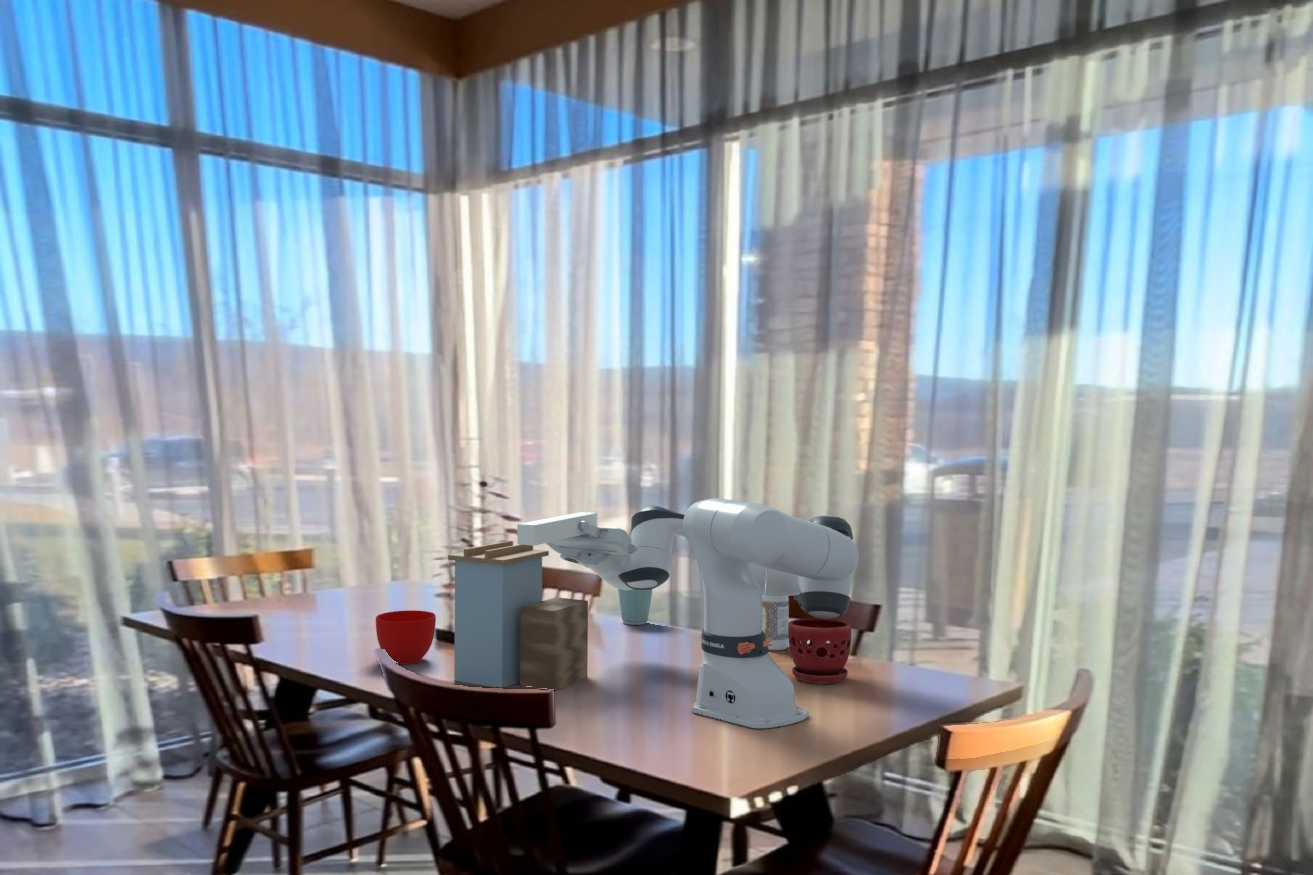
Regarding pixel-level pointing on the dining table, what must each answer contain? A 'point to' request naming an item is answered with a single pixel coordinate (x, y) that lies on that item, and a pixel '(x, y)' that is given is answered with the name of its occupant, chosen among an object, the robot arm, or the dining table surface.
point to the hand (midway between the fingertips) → (570, 523)
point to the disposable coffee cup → (635, 605)
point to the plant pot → (819, 649)
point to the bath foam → (775, 620)
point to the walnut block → (553, 643)
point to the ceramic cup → (406, 634)
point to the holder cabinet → (493, 610)
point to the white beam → (553, 528)
